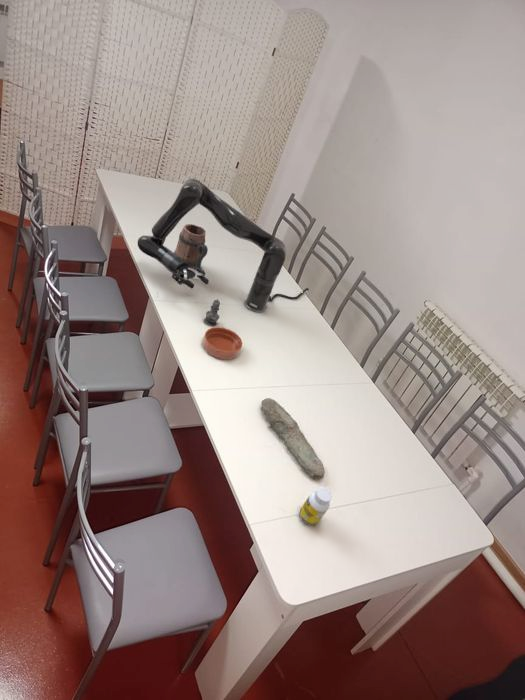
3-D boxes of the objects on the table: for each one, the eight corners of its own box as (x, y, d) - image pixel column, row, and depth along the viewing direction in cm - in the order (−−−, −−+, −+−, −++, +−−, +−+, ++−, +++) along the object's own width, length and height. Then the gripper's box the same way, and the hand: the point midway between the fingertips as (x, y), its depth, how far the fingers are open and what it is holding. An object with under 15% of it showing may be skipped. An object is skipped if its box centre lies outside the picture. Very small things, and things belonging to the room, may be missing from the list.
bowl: (220, 331, 202) (223, 323, 199) (246, 352, 197) (249, 344, 194) (194, 342, 191) (197, 333, 188) (221, 365, 185) (224, 357, 183)
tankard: (161, 257, 231) (169, 219, 220) (191, 256, 242) (201, 220, 230) (184, 286, 219) (194, 247, 207) (215, 283, 229) (226, 246, 218)
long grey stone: (305, 487, 155) (327, 479, 161) (313, 478, 152) (334, 470, 158) (252, 404, 173) (273, 400, 179) (257, 394, 170) (279, 391, 176)
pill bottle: (297, 505, 147) (312, 482, 140) (317, 508, 149) (332, 486, 142) (300, 524, 142) (315, 502, 135) (320, 527, 144) (336, 505, 137)
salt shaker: (214, 328, 202) (222, 305, 195) (201, 322, 202) (209, 299, 195) (218, 321, 207) (226, 298, 200) (206, 315, 207) (213, 292, 200)
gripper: (163, 259, 199) (190, 280, 193) (188, 253, 209) (214, 273, 204) (160, 274, 203) (186, 296, 198) (184, 268, 214) (210, 288, 208)
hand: (200, 284), depth 201 cm, fingers open, 8 cm apart
